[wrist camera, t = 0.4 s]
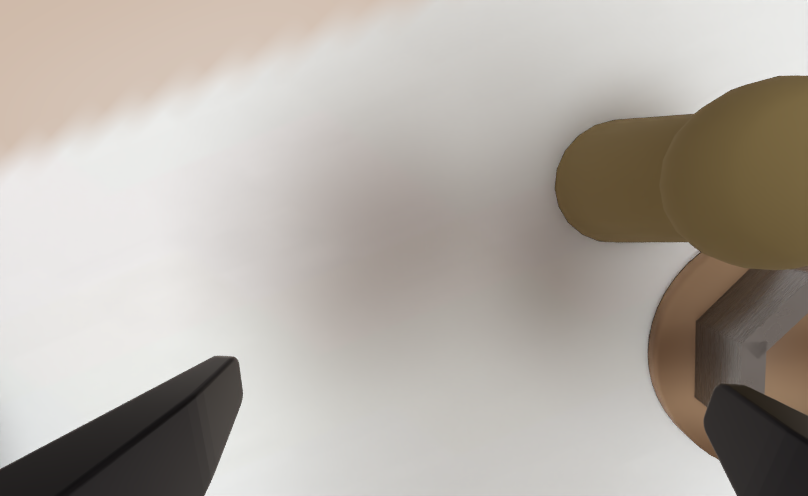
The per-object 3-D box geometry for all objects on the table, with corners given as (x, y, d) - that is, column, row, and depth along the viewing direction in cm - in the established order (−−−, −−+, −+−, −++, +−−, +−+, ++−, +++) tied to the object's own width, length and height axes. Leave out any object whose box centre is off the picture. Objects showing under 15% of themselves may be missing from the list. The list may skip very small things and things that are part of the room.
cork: (628, 92, 20) (869, -23, 9) (705, 187, 20) (1021, 184, 10) (529, 177, 21) (644, 163, 10) (605, 266, 21) (795, 347, 10)
